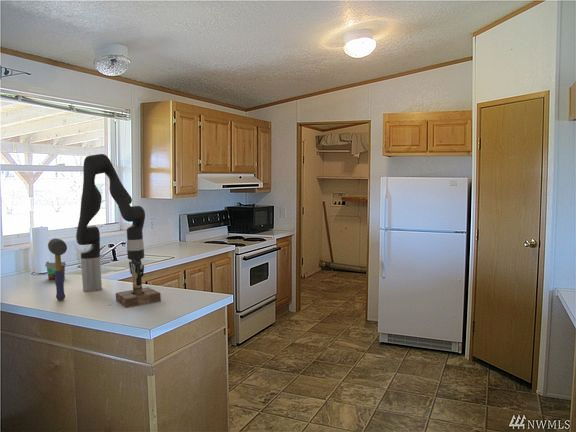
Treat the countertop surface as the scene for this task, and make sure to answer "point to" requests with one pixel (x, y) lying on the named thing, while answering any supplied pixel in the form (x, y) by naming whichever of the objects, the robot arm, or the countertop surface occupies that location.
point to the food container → (54, 269)
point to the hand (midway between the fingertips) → (137, 284)
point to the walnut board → (138, 297)
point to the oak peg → (136, 288)
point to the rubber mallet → (58, 265)
